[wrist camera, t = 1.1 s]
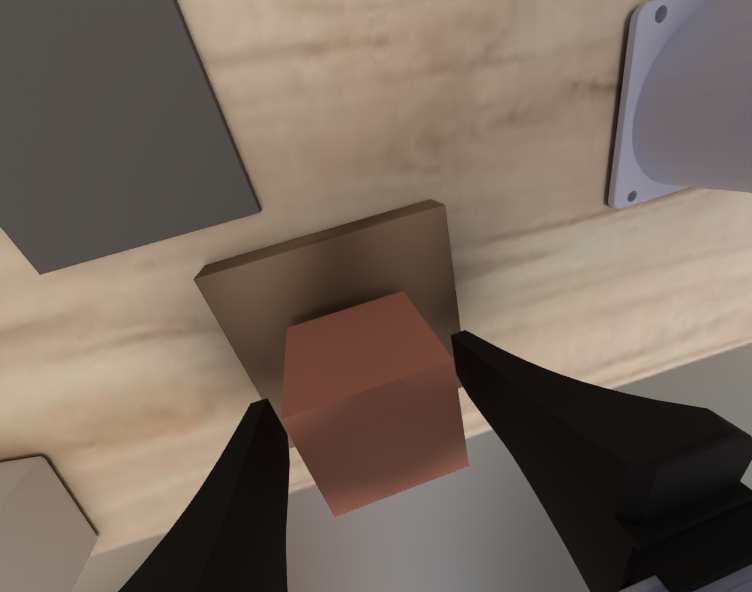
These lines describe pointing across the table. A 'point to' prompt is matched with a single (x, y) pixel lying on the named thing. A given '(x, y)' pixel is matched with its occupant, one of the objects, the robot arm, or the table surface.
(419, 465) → the terracotta cube
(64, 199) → the mat
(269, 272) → the post block
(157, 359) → the table surface
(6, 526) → the medicine bottle
